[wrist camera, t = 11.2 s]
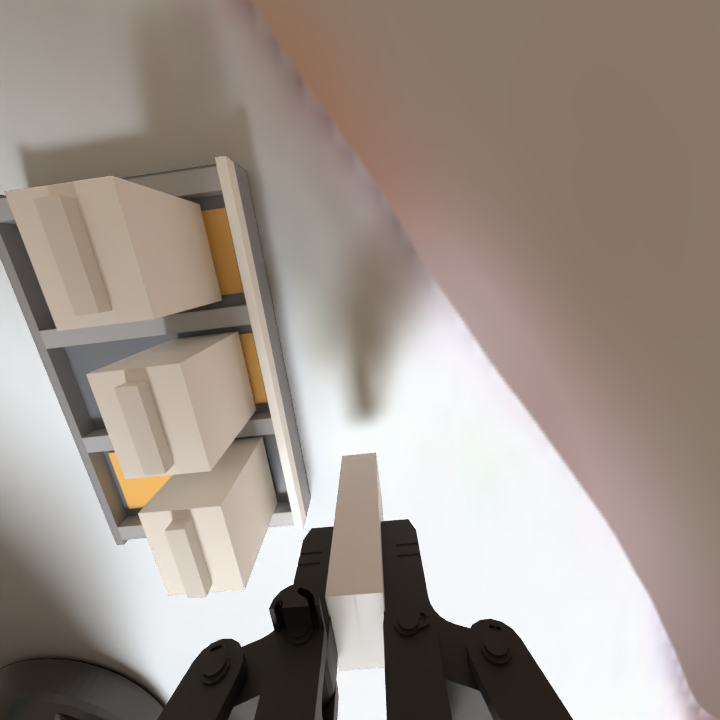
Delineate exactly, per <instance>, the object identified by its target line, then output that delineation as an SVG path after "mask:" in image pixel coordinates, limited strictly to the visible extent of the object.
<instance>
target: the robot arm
mask: <svg viewBox="0 0 720 720" xmlns="http://www.w3.org/2000/svg"><path fill="white" fill-rule="evenodd" d="M300 554H301V555H300V557H299V562H298V567H297V571H296V575H295V580H294V584H293V585H291V586H289V587H287V588H285V589H284V590H282V591H281V592H280V593H279V594H278V595H277V596H276V597H275V598H274V599H273V602H272V604H271V606H270V608H269V611H270V615H271V618H272V622H273V626H274V631H273V632H272V633H270V634H269V635H267V636H266V637H264V638H262V639H260V640H258V641H255V642H253V643H250V644H248V645H246V646H243V647H241V646H240V644H239V642H237V641H235V640H233V639H221V640H219V641H216V642H214V643H212V644H210V645H209V646H208V647H207V648H205V649H204V650H203V651H202V652H201V653H200V654H199V655H198V657H197V658H196V659H195V660H194V662H193V663H192V665H191V666H190V668H189V670H188V671H187V673H186V674H185V676H184V677H183V679H182V681H181V682H180V684H179V685H178V687H177V689H176V690H175V692H174V693H173V695H172V697H171V698H170V700H169V701H168V703H167V705H166V706H165V708H163V707H162V706H161V705H160V703H159V702H158V701H157V700H156V699H155V698H153V697H152V696H151V695H150V694H149V693H148V692H146V691H145V690H144V689H142V688H141V687H139V686H138V685H136V684H135V683H133V682H131V681H130V680H128V679H126V678H124V677H122V676H120V675H118V674H116V673H113V672H111V671H108V670H106V669H103V668H100V667H97V666H94V665H90V664H86V663H82V662H76V661H71V660H62V659H35V660H27V661H22V662H18V663H14V664H11V665H8V666H6V667H4V668H2V669H0V720H337V713H338V687H337V681H336V675H337V661H338V665H339V670H355V669H370V668H385V685H386V708H387V720H573V719H572V717H571V716H570V714H569V713H568V711H567V709H566V708H565V706H564V705H563V703H562V702H561V700H560V699H559V697H558V696H557V694H556V692H555V691H554V689H553V688H552V686H551V685H550V683H549V682H548V680H547V679H546V677H545V675H544V674H543V672H542V671H541V669H540V668H539V666H538V665H537V663H536V662H535V660H534V658H533V657H532V655H531V654H530V652H529V651H528V649H527V648H526V646H525V645H524V643H523V641H522V640H521V638H520V637H519V636H518V635H517V634H516V633H515V632H514V630H513V629H512V628H510V627H509V626H507V625H506V624H504V623H502V622H500V621H496V620H493V619H485V620H480V621H478V622H476V623H475V624H473V625H472V626H471V628H467V627H463V626H459V625H456V624H453V623H451V622H448V621H446V620H445V619H443V618H442V617H440V616H439V615H438V614H437V613H436V612H435V611H434V609H433V607H432V606H431V604H430V601H429V598H428V594H427V588H426V583H425V577H424V572H423V566H422V561H421V556H420V550H419V545H418V539H417V534H416V529H415V528H414V527H413V525H412V524H411V523H410V521H409V520H408V519H405V520H393V521H383V509H382V499H381V490H380V482H379V474H378V466H377V458H376V453H368V454H358V455H348V456H342V463H341V472H340V480H339V488H338V496H337V504H336V512H335V520H334V527H323V528H312V529H311V530H310V531H309V533H308V534H307V536H306V537H305V539H304V540H303V544H302V549H301V553H300Z"/></svg>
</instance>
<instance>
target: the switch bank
mask: <svg viewBox="0 0 720 720" xmlns="http://www.w3.org/2000/svg"><path fill="white" fill-rule="evenodd" d="M215 161H216V164H214V165H208V166H201V167H194V168H188V169H181V170H174V171H167V172H161V173H154V174H147V175H141V176H134V177H127V178H121V179H124V180H127V181H130V182H133V183H136V184H139V185H142V186H145V187H148V188H151V189H154V190H157V191H161V192H164V193H167V194H170V195H173V196H176V197H179V198H182V199H185V200H188V201H191V202H194V203H197V204H200V208H201V213H202V217H203V221H204V225H205V229H206V234H207V238H208V242H209V246H210V251H211V255H212V259H213V263H214V267H215V272H216V276H217V280H218V284H219V289H220V293H221V297H222V301H218V302H214V303H211V304H207V305H204V306H200V307H196V308H193V309H189V310H186V311H182V312H178V313H175V314H171V315H168V316H164V317H160V318H157V319H152V320H144V321H136V322H128V323H120V324H112V325H104V326H95V327H87V328H79V329H71V330H63V331H57V328H56V326H55V323H54V320H53V318H52V315H51V313H50V310H49V307H48V305H47V302H46V300H45V297H44V294H43V292H42V289H41V286H40V284H39V281H38V279H37V276H36V273H35V271H34V268H33V266H32V263H31V260H30V258H29V255H28V252H27V250H26V247H25V245H24V242H23V239H22V237H21V234H20V232H19V229H18V226H17V224H16V221H15V219H14V216H13V213H12V211H11V208H10V205H9V203H8V200H7V198H6V196H4V195H0V258H1V261H2V263H3V266H4V268H5V271H6V273H7V275H8V278H9V280H10V283H11V285H12V288H13V290H14V293H15V295H16V298H17V300H18V303H19V305H20V307H21V310H22V312H23V315H24V317H25V320H26V322H27V325H28V327H29V330H30V332H31V335H32V337H33V339H34V342H35V344H36V347H37V349H38V352H39V354H40V357H41V359H42V362H43V364H44V367H45V369H46V372H47V374H48V376H49V379H50V381H51V384H52V386H53V389H54V391H55V394H56V396H57V399H58V401H59V404H60V406H61V408H62V411H63V413H64V416H65V418H66V421H67V423H68V426H69V428H70V431H71V433H72V436H73V438H74V440H75V443H76V445H77V448H78V450H79V453H80V455H81V458H82V460H83V463H84V465H85V468H86V470H87V473H88V475H89V477H90V480H91V482H92V485H93V487H94V490H95V492H96V495H97V497H98V500H99V502H100V505H101V507H102V509H103V512H104V514H105V517H106V519H107V522H108V524H109V527H110V529H111V532H112V534H113V537H114V539H115V541H116V544H117V545H123V544H125V543H126V542H127V540H128V539H137V538H147V537H146V534H145V531H144V529H143V526H142V523H141V521H140V518H139V515H138V513H139V512H140V511H141V509H142V508H143V507H144V506H145V505H146V504H147V503H148V502H149V501H150V500H151V498H152V497H153V496H154V495H155V494H156V493H157V492H158V491H159V490H160V489H161V487H162V486H163V485H164V484H165V483H166V482H167V481H168V480H169V479H170V477H171V476H172V475H166V476H156V477H145V478H135V479H125V478H124V475H123V472H122V470H121V467H120V464H119V461H118V459H117V456H116V453H115V451H114V448H113V445H112V443H111V440H110V437H109V435H108V432H107V429H106V427H105V424H104V421H103V418H102V416H101V413H100V410H99V408H98V405H97V402H96V400H95V397H94V394H93V392H92V389H91V386H90V384H89V381H88V378H87V375H86V374H88V373H90V372H93V371H95V370H97V369H100V368H102V367H105V366H107V365H110V364H112V363H115V362H117V361H120V360H122V359H125V358H127V357H129V356H132V355H134V354H137V353H139V352H142V351H144V350H147V349H149V348H152V347H154V346H157V345H159V344H162V343H164V342H166V341H169V340H171V339H177V338H186V337H194V336H202V335H211V334H219V333H227V332H236V331H238V333H239V337H240V342H241V346H242V350H243V355H244V359H245V364H246V368H247V372H248V377H249V381H250V385H251V390H252V394H253V398H254V403H255V407H256V411H255V412H254V414H253V415H252V416H251V418H250V419H249V420H248V422H247V423H246V424H245V426H244V427H243V428H242V430H241V431H240V432H239V434H238V435H237V436H236V438H235V439H242V438H252V437H262V438H263V442H264V446H265V451H266V455H267V459H268V464H269V468H270V472H271V477H272V481H273V485H274V490H275V494H276V498H277V505H276V507H275V510H274V513H273V515H272V518H271V521H270V523H269V526H268V527H277V526H289V525H295V529H296V530H299V529H303V528H304V524H305V520H306V516H307V512H308V508H309V503H310V499H311V498H310V493H309V488H308V482H307V477H306V472H305V467H304V462H303V457H302V452H301V447H300V442H299V436H298V431H297V426H296V421H295V416H294V411H293V406H292V401H291V396H290V391H289V385H288V380H287V375H286V370H285V365H284V360H283V355H282V350H281V345H280V339H279V334H278V329H277V324H276V319H275V314H274V309H273V304H272V299H271V294H270V288H269V283H268V278H267V273H266V268H265V263H264V258H263V253H262V248H261V243H260V237H259V232H258V227H257V222H256V217H255V212H254V207H253V202H252V197H251V191H250V186H249V181H248V176H247V171H246V170H244V169H243V168H241V167H240V166H239V165H237V164H236V163H235V162H233V161H232V160H230V159H229V158H228V157H226V156H219V157H215Z"/></svg>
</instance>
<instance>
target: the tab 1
mask: <svg viewBox="0 0 720 720" xmlns="http://www.w3.org/2000/svg"><path fill="white" fill-rule="evenodd" d="M4 192H5V195H6V198H7V200H8V203H9V205H10V208H11V211H12V213H13V216H14V219H15V221H16V224H17V226H18V229H19V232H20V234H21V237H22V239H23V242H24V245H25V247H26V250H27V252H28V255H29V258H30V260H31V263H32V266H33V268H34V271H35V273H36V276H37V279H38V281H39V284H40V286H41V289H42V292H43V294H44V297H45V300H46V302H47V305H48V307H49V310H50V313H51V315H52V318H53V320H54V323H55V326H56V328H57V331H63V330H71V329H79V328H87V327H95V326H104V325H112V324H120V323H128V322H136V321H144V320H152V319H157V318H160V317H164V316H168V315H171V314H175V313H178V312H182V311H186V310H189V309H193V308H196V307H200V306H204V305H207V304H211V303H214V302H218V301H222V297H221V293H220V289H219V284H218V280H217V276H216V272H215V267H214V263H213V259H212V255H211V251H210V246H209V242H208V238H207V234H206V229H205V225H204V221H203V217H202V213H201V208H200V204H197V203H194V202H191V201H188V200H185V199H182V198H179V197H176V196H173V195H170V194H167V193H164V192H161V191H157V190H154V189H151V188H148V187H145V186H142V185H139V184H136V183H133V182H130V181H127V180H124V179H121V178H118V177H115V176H112V175H111V176H104V177H98V178H91V179H84V180H78V181H71V182H64V183H58V184H51V185H44V186H38V187H31V188H24V189H18V190H11V191H4Z"/></svg>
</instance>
